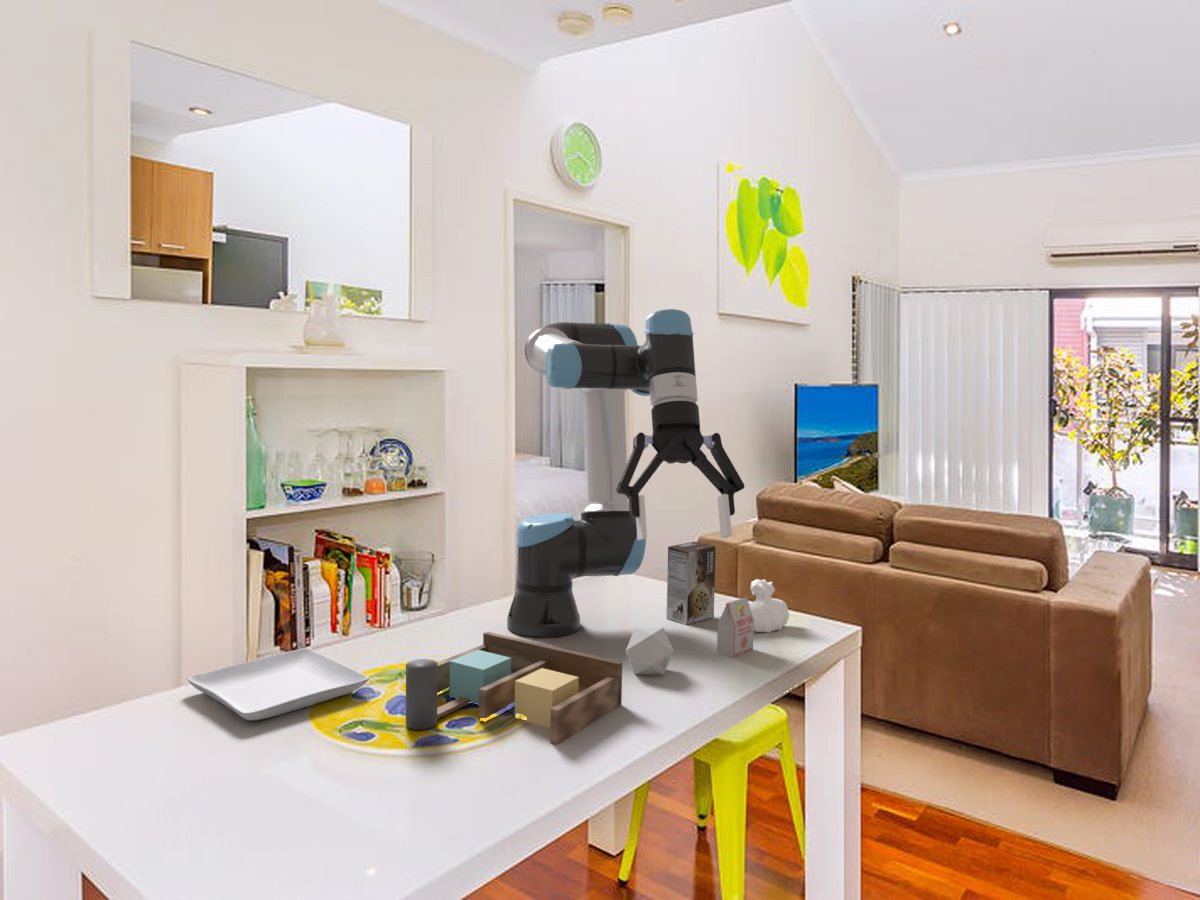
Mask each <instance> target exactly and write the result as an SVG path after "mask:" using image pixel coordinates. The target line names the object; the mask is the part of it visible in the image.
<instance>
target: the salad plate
mask: <svg viewBox="0 0 1200 900" xmlns="http://www.w3.org/2000/svg"><path fill="white" fill-rule="evenodd" d="M369 679H370V678H369V676H368V675H365V674H364V673H362V672H360V671H358V670H356V669H353V668H351V667H349V666H347V665H346V664H343V663H341V662H339V661H337V660H336V659H333V658H331V657H329V656H326V655H324V654H322V653H320V652H318V651H316V650H313V649H311V648H309V647H304V648H298V649H294V650H291V651H290V650H289V651H286V652H281V653H277V654H273V655H270V656H267V657H266V656H265V657H261V658H256V659H253V660H249V661H246V662H241V663H237V664H234V665H230V666H225V667H223V668H222V667H221V668H219V669H213V670H210V671H206V672H203V673H199V674H195V675H191V676H188V678H187V681H188V683H189V684H191V686H192V687H193V688H195V689H196V690H198V691H200V692H201V693H203V694H205V695H207V696H209V697H210V698H212V699H214V700H216V701H217V702H219V703H221V704H222V705H224V706H226V707H227V708H229V709H230V710H232V711H233V712H235V714H237V715H238V716H240V717H241V718H243V719H245V720H247V721H260V720H265V719H268V718H273V717H276V716H279V715H283V714H287V713H289V712H293V711H297V710H300V709H303V708H306V707H310V706H314V705H316V704H315V703H317V704H319V703H318V702H321V703H323V702H322V701H324V702H326V701H325V700H327V701H329V700H328V699H330V700H332V699H331V698H333V699H336V698H338V696H339V697H342V696H345V695H348V694H350V693H352V692H355V691H357V690H358V689H361V688H363V686H365V685H366V684H367V683H368V681H369ZM335 697H336V698H335Z"/></svg>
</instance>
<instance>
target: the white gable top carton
mask: <svg viewBox="0 0 1200 900" xmlns="http://www.w3.org/2000/svg"><path fill="white" fill-rule="evenodd" d="M749 605H750V603H749V598H748V597H743V598H739V599H736V600H733V601H729V602H727V603H726V604H725V607H724V609H723V612H722V614H721V615H720V617H719V620H718V621H717V641H716V653H717V654H720V655H724V656H727V657H731V658H734V657H737V655H738V656H740V655H743V654H745V653H748V652H750V651H752V649H753V650H754V632H755V631H754V618H753V615H752V612H751V609H750V606H749ZM747 651H748V652H747ZM742 653H743V654H742Z"/></svg>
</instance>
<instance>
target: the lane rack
mask: <svg viewBox="0 0 1200 900" xmlns="http://www.w3.org/2000/svg"><path fill="white" fill-rule="evenodd" d="M482 636H483V637H482V639H483V641H482V644H481V645H478V646H476V647H472V648H471V649H468V650H466V651H463V652H460V653H458V654H455V655H453V656H451V657H448V658H445V659H443V660H441V661H438V662H437V661H436V662H437V693H438V692H440V691H442V690H444V689H446V688H448V687H449V685H450V661H451V660H454V659H456V658H459V657H461V656H464V655H466V654H469V653H471V652H474V651H476V650H481V651H485V652H489V653H494V654H498V655H502V656H506V657H510V658H511V674H510V675H508V676H506V677H504V678H502V679H500V680H497V681H495V682H493V683H491V684H489V685H487V686H484V687H482V688H480V689H479V706H478V719H479V718H487V717H489V716H490V715H492V714H494V713H496V712H498V711H500V710H501V709H503V708H505V707H506V706H508V705H509V704H511V703H513V702H514V701H515V681H516V680H518V679H520V678H522V677H524V676H526V675H529V674H531V673H533V672H535V671H537V670H539V669H541V668H544V669H548V670H552V671H556V672H560V673H564V674H568V675H572V676H576V677H579V688H578V694H576V695H574V696H572V697H571V698H569V699H567V700H565V701H563V702H562V703H560V704H558V705H556V706H554V707H552V708H551V717H550V728H549V729H550V730H549V731H550V732H549V734H550V736H549V737H550V738H549V741H550V744H554V745H559V744H560V743H562V742H563V741H565V740H567V739H568V738H570V737H572V736H574V735H575V734H576V733H578V732H579V731H582V729H584V728H586V727H588V726H589V725H591V724H592V723H594V722H595V721H597V720H598V719H601V718H602V717H603V716H605V715H607V714H609V713H611V712H612V711H613V710H615V709H616V708H618V707H620V706H622V695H623V694H622V693H623V690H622V689H623V661H619V660H615V659H610V658H606V657H602V656H597V655H593V654H589V653H584V652H579V651H575V650H571V649H568V648H567V649H566V648H561V647H557V646H554V645H550V644H545V643H540V642H535V641H532V640H531V641H530V640H527V639H522V638H517V637H513V636H509V635H504V634H501V633H500V634H499V633H495V632H492V631H491V632H490V631H486V632H484V633H483V634H482Z"/></svg>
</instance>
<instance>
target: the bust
mask: <svg viewBox="0 0 1200 900" xmlns="http://www.w3.org/2000/svg"><path fill="white" fill-rule="evenodd" d="M773 583H774V582H773V581H769V582H768V581H767V580H766V579H759V578H756V579H754V580H752V581H751V584H750V591H751V594H752V596H754V595H755V597H756V598H755V601H753V602H751V603H749V606H750V609H751V612H752V615H753V618H754V632H756V633H767V632H769V633H771V632H775V631H778V630H779V631H780V630H782V628H783V627H784V626H786V624H788V620H789V616H790V613H789V608H788V606H787V603H786V602H785V601H784V600H782V599H779V598H773V597H772V595H773V594H774V592H775V591H776V590H775V587H774V586H773Z"/></svg>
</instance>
